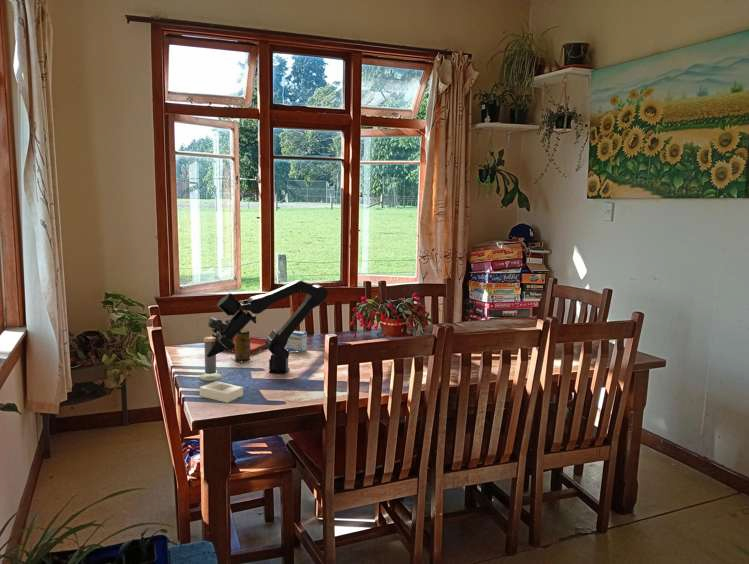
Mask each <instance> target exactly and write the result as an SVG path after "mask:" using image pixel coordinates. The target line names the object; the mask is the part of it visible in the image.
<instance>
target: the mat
mask: <svg viewBox="0 0 749 564" xmlns="http://www.w3.org/2000/svg"><path fill="white" fill-rule="evenodd" d="M220 379H222V374H220V373H218V372H216V373H214V374H206V373H203V374H200V375H199V380H201V381H207V382H209V381H210V382H214V381H218V380H220Z"/></svg>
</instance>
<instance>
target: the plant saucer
mask: <svg viewBox="0 0 749 564" xmlns="http://www.w3.org/2000/svg"><path fill="white" fill-rule="evenodd" d="M249 337H250V355H251V354H254V353H255V352H258V351H261V350H263V349H265V348H267V347H266V343H265V342H266V340H267V338H262V337H255V336H254V337H253V336H249ZM235 338H236V336H235V337H234V338H233V340H234V341H233V342H234V344H235ZM262 348H263V349H262ZM260 349H261V350H260ZM225 352H231V351H230V350H229V349H228V350H226V351H225ZM232 353H235V348H234V349H233V350H232Z"/></svg>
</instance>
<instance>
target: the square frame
mask: <svg viewBox="0 0 749 564" xmlns="http://www.w3.org/2000/svg"><path fill="white" fill-rule="evenodd" d="M243 396H244V387H243V386H239V385H236V384H231V383H226V382H222V381H218V380H214V381H211V382H210V383H207V384H205V385H203V386H202V385H201V386H199V397H202V398H207V399H211V400H215V401H219V402H223V403H229V402H232V401H234V400H237V399H239V398H241V397H243ZM238 397H239V398H238Z"/></svg>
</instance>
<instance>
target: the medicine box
mask: <svg viewBox="0 0 749 564" xmlns="http://www.w3.org/2000/svg"><path fill="white" fill-rule="evenodd" d="M307 332H308V331H302V330H301V331H300V330H295V331H294V332H293V333H292V334H291V335H290V337H289V339H288V342H287V344H286V346H285V347H286V348H285V349H286V350H289V351H288V352H290V351H298V352H297V353H299V352H303V351H305V350H306V351H307V341H308V340H307V339H308V333H307ZM306 351H305V352H306ZM303 353H304V352H303Z"/></svg>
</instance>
